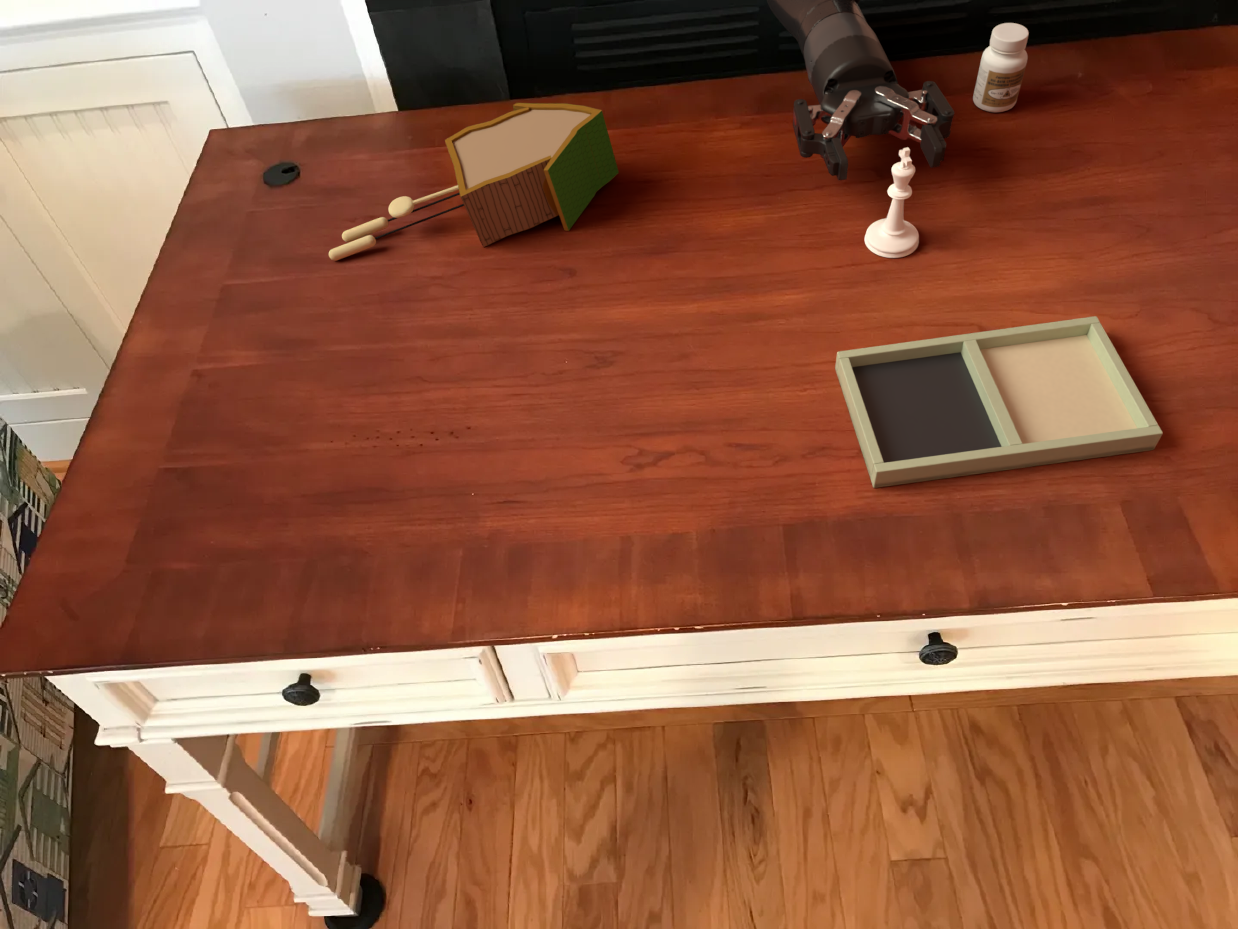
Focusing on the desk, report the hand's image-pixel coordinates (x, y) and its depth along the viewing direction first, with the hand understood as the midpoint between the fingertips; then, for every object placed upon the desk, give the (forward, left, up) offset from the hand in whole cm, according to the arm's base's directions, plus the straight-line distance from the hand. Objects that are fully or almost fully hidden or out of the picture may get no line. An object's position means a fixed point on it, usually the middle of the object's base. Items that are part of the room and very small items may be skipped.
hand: (890, 165), depth 89 cm
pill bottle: (-16, -16, -6) cm, 23 cm away
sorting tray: (-2, +24, -6) cm, 25 cm away
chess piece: (0, +3, -6) cm, 7 cm away
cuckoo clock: (+39, -9, -6) cm, 40 cm away
